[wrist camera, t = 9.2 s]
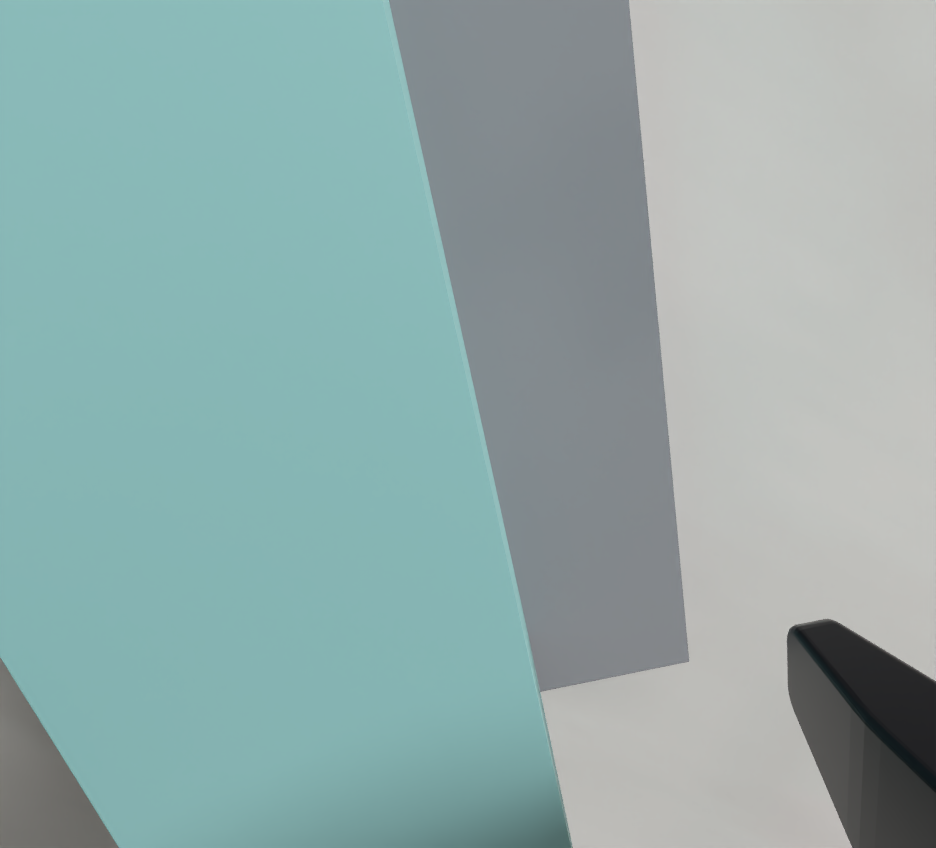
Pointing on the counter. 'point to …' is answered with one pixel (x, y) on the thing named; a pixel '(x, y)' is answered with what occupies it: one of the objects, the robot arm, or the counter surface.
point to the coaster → (556, 313)
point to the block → (249, 441)
